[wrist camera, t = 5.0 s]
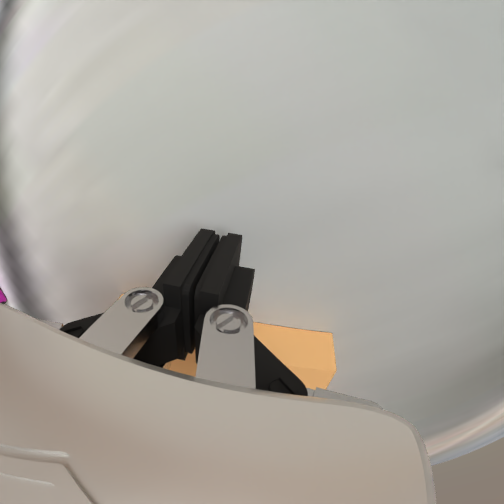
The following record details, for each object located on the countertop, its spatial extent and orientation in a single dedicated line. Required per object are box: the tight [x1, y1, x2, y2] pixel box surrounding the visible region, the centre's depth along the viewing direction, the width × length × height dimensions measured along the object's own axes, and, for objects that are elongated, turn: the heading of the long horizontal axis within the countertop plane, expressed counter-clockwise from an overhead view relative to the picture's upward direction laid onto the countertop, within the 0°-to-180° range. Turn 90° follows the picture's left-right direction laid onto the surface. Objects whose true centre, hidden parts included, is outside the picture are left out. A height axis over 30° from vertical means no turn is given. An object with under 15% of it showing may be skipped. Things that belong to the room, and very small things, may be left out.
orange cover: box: [119, 294, 336, 390], centre depth 16 cm, size 14×12×3 cm
